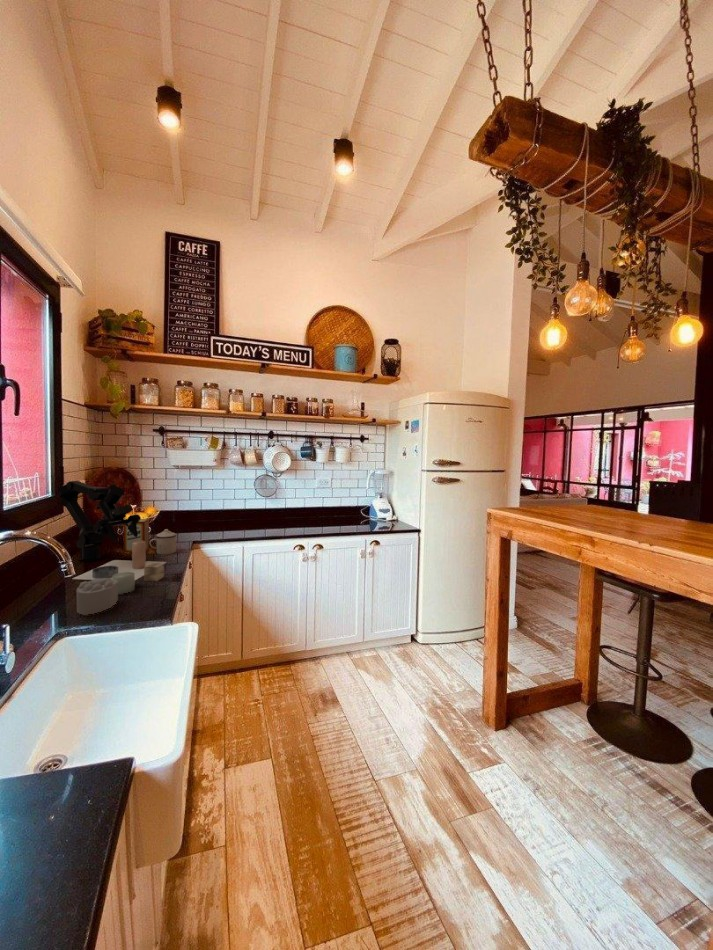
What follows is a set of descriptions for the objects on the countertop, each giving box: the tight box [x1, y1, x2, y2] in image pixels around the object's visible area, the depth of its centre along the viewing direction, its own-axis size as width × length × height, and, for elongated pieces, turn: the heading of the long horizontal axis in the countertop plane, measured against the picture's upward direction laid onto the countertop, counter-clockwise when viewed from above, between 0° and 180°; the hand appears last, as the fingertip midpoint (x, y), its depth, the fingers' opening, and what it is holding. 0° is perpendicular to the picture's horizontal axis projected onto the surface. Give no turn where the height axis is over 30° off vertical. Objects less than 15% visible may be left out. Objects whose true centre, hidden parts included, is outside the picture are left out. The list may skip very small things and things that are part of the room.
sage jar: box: [112, 572, 136, 595], centre depth 147 cm, size 7×7×6 cm
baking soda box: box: [122, 518, 150, 554], centre depth 200 cm, size 10×6×16 cm
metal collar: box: [92, 566, 118, 578], centre depth 159 cm, size 9×9×2 cm
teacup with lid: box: [149, 528, 177, 555], centre depth 199 cm, size 12×9×12 cm
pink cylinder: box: [131, 541, 147, 569], centre depth 170 cm, size 5×5×11 cm
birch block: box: [143, 563, 165, 582], centre depth 157 cm, size 5×5×7 cm
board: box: [72, 559, 167, 584], centre depth 166 cm, size 24×26×2 cm
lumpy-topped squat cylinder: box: [76, 578, 119, 616], centre depth 132 cm, size 10×13×9 cm
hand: (127, 538), depth 172 cm, fingers open, 9 cm apart
